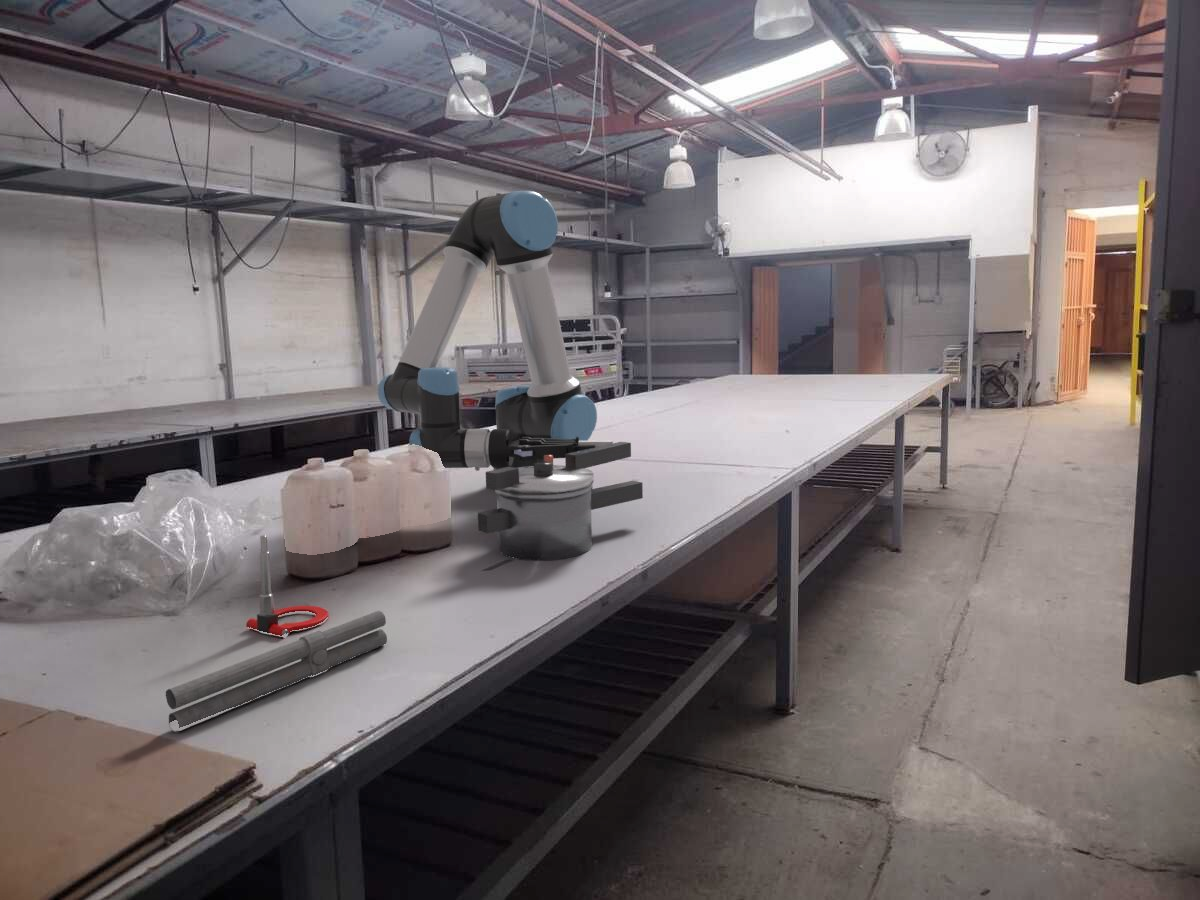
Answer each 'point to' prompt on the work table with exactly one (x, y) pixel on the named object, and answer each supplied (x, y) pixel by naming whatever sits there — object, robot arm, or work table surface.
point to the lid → (556, 471)
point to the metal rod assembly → (305, 648)
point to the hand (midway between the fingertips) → (612, 448)
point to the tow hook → (268, 615)
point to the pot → (551, 520)
